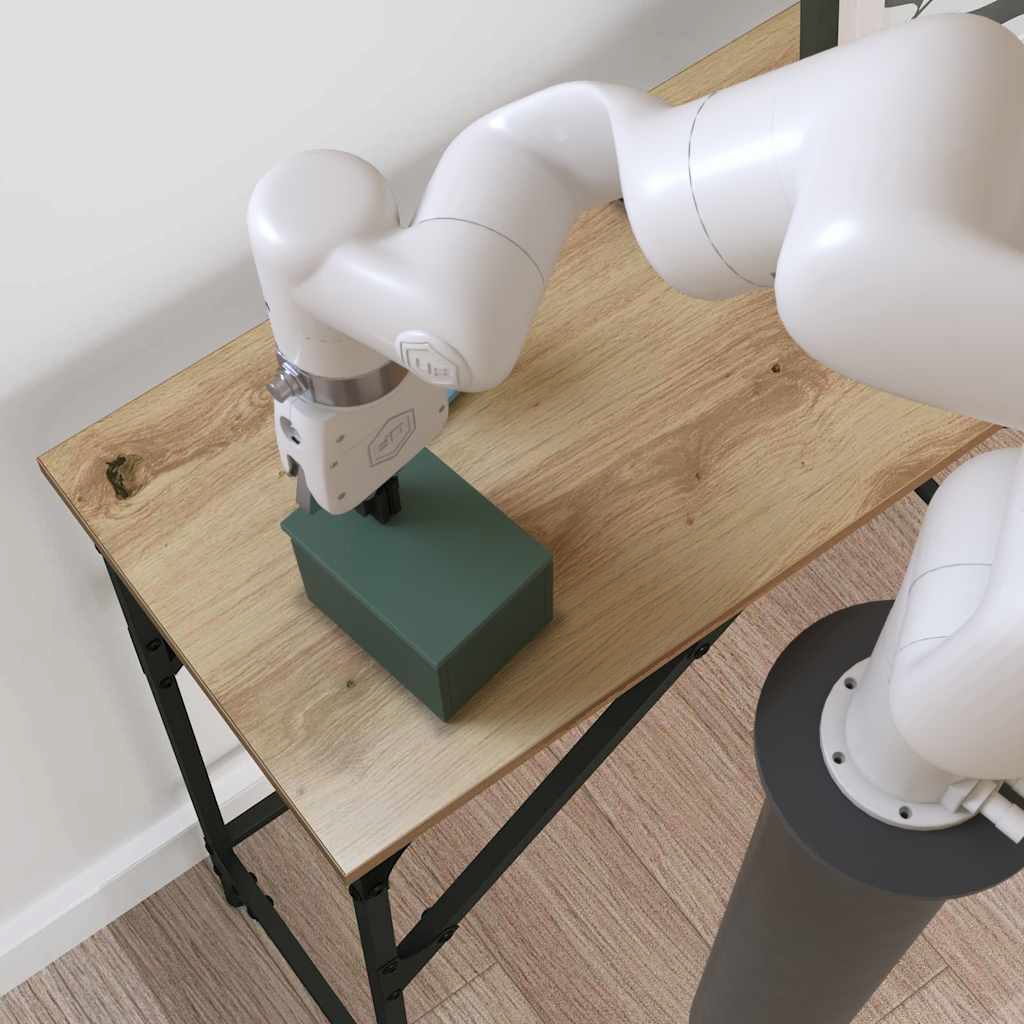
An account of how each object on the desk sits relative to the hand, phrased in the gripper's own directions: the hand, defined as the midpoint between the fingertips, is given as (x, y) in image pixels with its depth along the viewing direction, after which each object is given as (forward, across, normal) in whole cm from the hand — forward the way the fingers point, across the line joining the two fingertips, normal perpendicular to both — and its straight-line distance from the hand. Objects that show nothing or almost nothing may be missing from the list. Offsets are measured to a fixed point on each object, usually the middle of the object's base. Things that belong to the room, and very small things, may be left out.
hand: (376, 504), depth 105 cm
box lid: (+1, 0, -4) cm, 4 cm away
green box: (+10, 0, -4) cm, 11 cm away
